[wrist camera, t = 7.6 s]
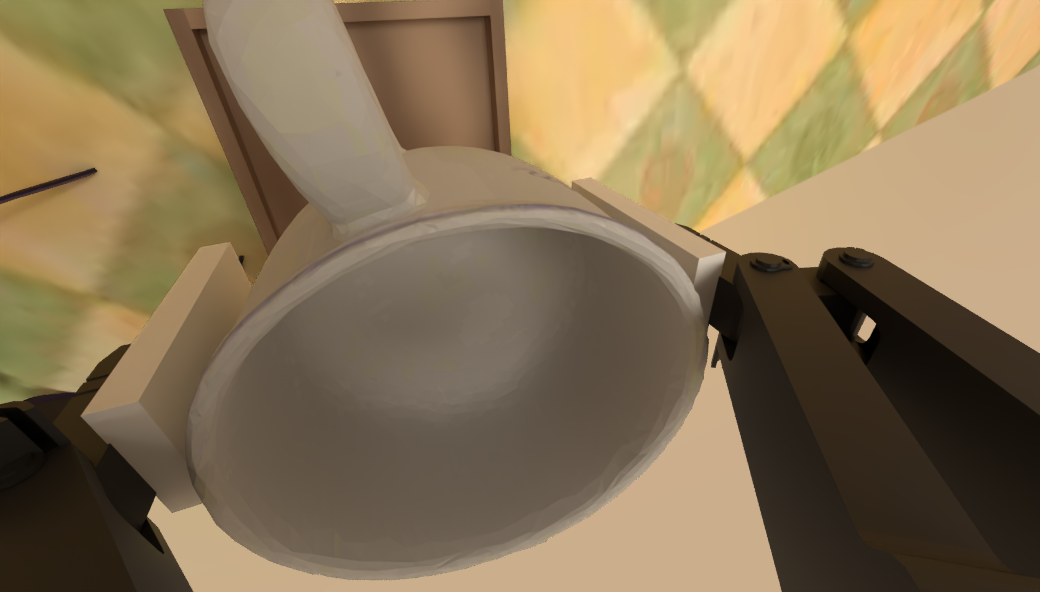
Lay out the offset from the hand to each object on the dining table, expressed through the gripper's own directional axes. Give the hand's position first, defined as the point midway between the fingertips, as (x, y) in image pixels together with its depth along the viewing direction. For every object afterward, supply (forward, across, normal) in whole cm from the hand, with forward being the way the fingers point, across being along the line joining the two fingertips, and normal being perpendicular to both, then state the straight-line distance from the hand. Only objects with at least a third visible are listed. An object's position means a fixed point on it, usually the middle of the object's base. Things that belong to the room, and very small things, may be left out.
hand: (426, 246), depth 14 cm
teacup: (+1, 0, 0) cm, 1 cm away
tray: (+16, 0, -2) cm, 17 cm away
